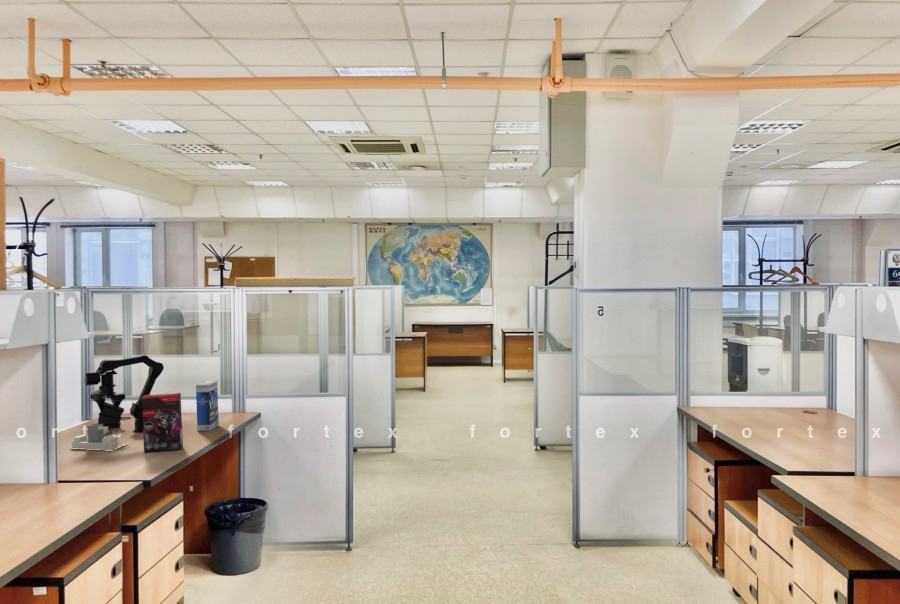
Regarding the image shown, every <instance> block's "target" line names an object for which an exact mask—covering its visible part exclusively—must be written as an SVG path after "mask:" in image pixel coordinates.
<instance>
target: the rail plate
mask: <svg viewBox="0 0 900 604" xmlns="http://www.w3.org/2000/svg"><path fill="white" fill-rule="evenodd" d="M118 444H119V437H118V436H111V435H110V436H106V437H104V438H103V439H102V443H96V442H88V434H87V435H86V434H81V435H78V436H74V437H73V441H72V442H71V448H85V449H100V450H114V451H116V450H115V448H117V447H118ZM121 444H122V445H123V446H125V447H127V446H129V444H127V443H121ZM126 444H127V446H126ZM122 445H121V446H122ZM117 450H119V449H118V448H117Z"/></svg>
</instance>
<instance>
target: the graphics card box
mask: <svg viewBox="0 0 900 604" xmlns="http://www.w3.org/2000/svg"><path fill="white" fill-rule="evenodd" d="M181 396H182V394H181V392H177V393H165V394H164V393H162V394H161V393H159V394H150V395H144V396H143V397H142V415H143V432H142V434H143V453H155V452H156V453H157V452H166V451H177V450H181V449H182V448H183V446H184V441H183V437H184V436H183V424H182V423H183V422H182V419H183V418H182V398H181Z"/></svg>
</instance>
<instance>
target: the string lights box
mask: <svg viewBox="0 0 900 604" xmlns="http://www.w3.org/2000/svg"><path fill="white" fill-rule="evenodd" d="M195 395H196V399H195V400H196V427H197V429H196V430H197V432H207V431H208V432H210V431H212V430H213V429H216V428H217V427H218V425H220V424H219V422H220V421H219V401H218V400H219V395H218V380H204V381H203V382H200V383H197V384H195ZM216 426H217V427H216Z"/></svg>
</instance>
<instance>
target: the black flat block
mask: <svg viewBox="0 0 900 604" xmlns="http://www.w3.org/2000/svg"><path fill="white" fill-rule="evenodd" d="M124 412H125V408H124V407H121V406H119V408H118V410H117V412H116V413H114V410H113V403H109V402H107V401H105V404H104V410H103V412H101V411H100V410H99V413H98V419H97V421H98V422H97V423H96V424H103V427H108V428H116V429H120V428H121V425H122V423H121V420H122V418H123V417H122V414H123V413H124ZM119 427H120V428H119Z"/></svg>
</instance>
